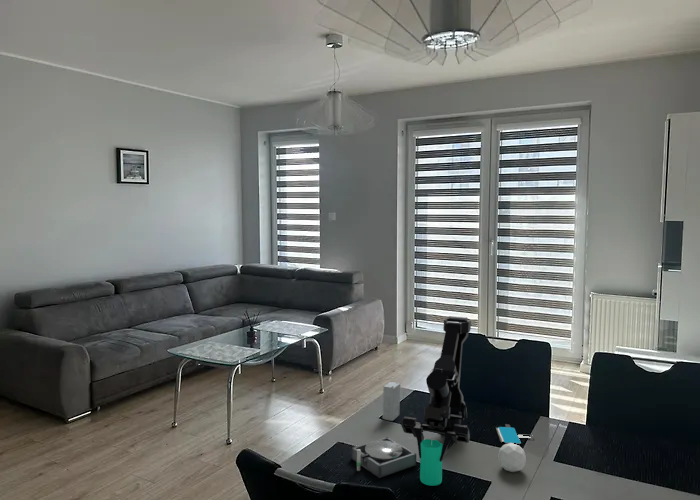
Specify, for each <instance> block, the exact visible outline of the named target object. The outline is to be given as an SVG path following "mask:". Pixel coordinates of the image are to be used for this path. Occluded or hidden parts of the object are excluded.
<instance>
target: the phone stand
mask: <svg viewBox="0 0 700 500" xmlns="http://www.w3.org/2000/svg"><path fill="white" fill-rule="evenodd" d="M504 425H505V426H498V427H497V426H495V430H496V433H497V436H498V438H499V442H501V443H500V444H502V442H504V443H505V444H508V443H516V444H519V445H520V444H522V442H521V440H520V439H519V438H531V437H529V436H523V435H524V434H518V433H517V431H516V428H515V427H511V425H510V424H507V423H505V424H504ZM517 434H518V435H517Z"/></svg>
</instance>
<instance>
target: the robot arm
mask: <svg viewBox="0 0 700 500" xmlns="http://www.w3.org/2000/svg"><path fill="white" fill-rule="evenodd" d="M471 328H472V321H471V320H469V319H468V317H465V316H454V315H449V316H448V318H445V319H443V328H442V329H443V332H445V333H444V337H443V343H442V348H441V352H440V357H439V358H437V360H436V361H435V362H434V364H433V365H434V366H433V368H432V369H431V370H430V372H429V374H428V375H427V377H426V382H425V383H426V385H427V388H428V392H429V395H430V399H429V404H428V405H427V406H424V411H423V412H424V413H423V419H424V420H423V421H424V422H425V423H423V422H418V419H417V418H416V417H413V416H412V417H411V416H406V415H405V416H403V418H401V423H400V427H402V428H401V429H402V431H403V433H405V434H411V435H413V437H414V438H416V442H417V449H418V457H419V459H420V458H421V442H422V441H423V440H425V435H424V433H423V432H430V433H437V434H440V435H442V436H444V438H443V439H444V440H443V442H442V444H443V447H442V452H441V456H440V462H442V463H443V461H444V459H445V458H446V456H447V454H448V452H449V450H450V449H451V448H452V447H453V445H454V444H455V445H457V444H458V442H461V443H466V444H468V443H470V439H471V438H470V437H471V436H470V435H471V433H470V429H469V427H468V425H465V424H463V422H462V421H464V420H466V419H467V418H468V411H467V406H466V402H465V401H464V395H463V392H462V390H461V389H460V383H461V369H462V361H463V360H462V359H463V358H462V356H463V344H464V343H465V341H467V338H469V333H470V332H471Z"/></svg>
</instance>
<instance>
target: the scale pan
mask: <svg viewBox="0 0 700 500" xmlns="http://www.w3.org/2000/svg"><path fill="white" fill-rule="evenodd" d="M372 441H373V442H372ZM372 441H370V443H369V442H367V443H368V444H367V445H366V446H365V453H366V454H365V455H362V456H361V458H362V459H363V458H366V457H370V458H372V459H376V460H381V461H389V460H394V459H397V458H399V457H400V456H401V455H402V447H401V446H400V445H399V444H400V443H399V444H397V443H398V442H397V443H395V442H396V441H395V442H391V441H384V440H380V441H375V440H372Z"/></svg>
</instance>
